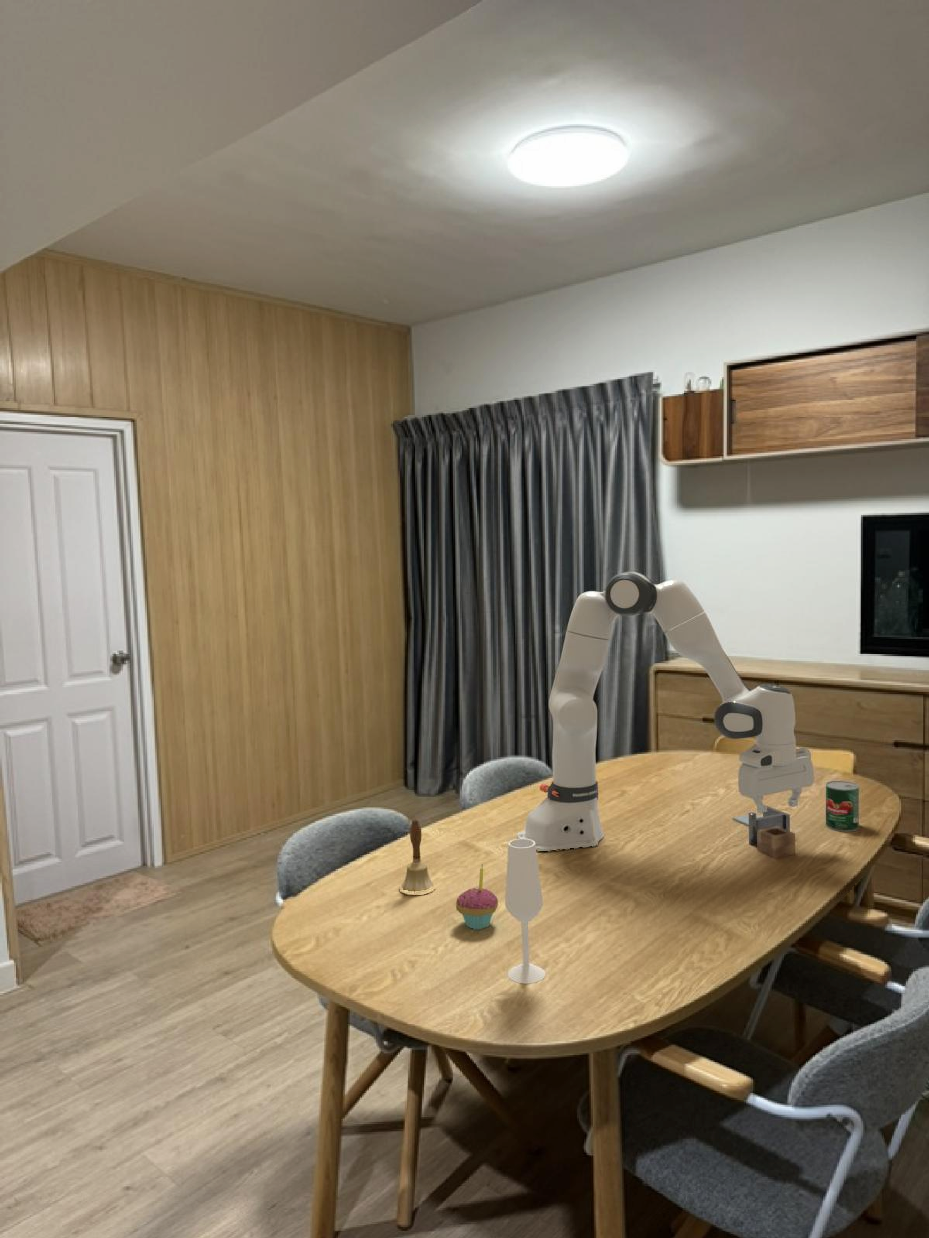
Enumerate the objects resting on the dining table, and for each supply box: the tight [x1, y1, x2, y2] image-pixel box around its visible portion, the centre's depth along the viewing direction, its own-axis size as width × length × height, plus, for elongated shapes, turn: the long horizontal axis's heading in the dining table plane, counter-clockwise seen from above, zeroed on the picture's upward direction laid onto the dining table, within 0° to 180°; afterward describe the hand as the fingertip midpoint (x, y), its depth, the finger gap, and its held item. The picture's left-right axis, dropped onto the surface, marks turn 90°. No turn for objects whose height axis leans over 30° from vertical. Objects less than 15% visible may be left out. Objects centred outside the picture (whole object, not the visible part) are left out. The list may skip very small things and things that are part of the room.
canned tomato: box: [825, 780, 860, 832], centre depth 220 cm, size 8×8×11 cm
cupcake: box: [455, 863, 499, 930], centre depth 172 cm, size 9×8×12 cm
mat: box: [732, 814, 762, 828], centre depth 227 cm, size 7×7×1 cm
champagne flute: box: [504, 838, 546, 985], centre depth 151 cm, size 7×7×24 cm
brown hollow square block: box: [756, 826, 796, 859], centre depth 204 cm, size 6×6×5 cm
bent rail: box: [748, 805, 791, 846], centre depth 215 cm, size 12×8×8 cm
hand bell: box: [400, 818, 434, 892], centre depth 191 cm, size 8×8×16 cm
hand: (777, 809), depth 204 cm, fingers open, 8 cm apart
